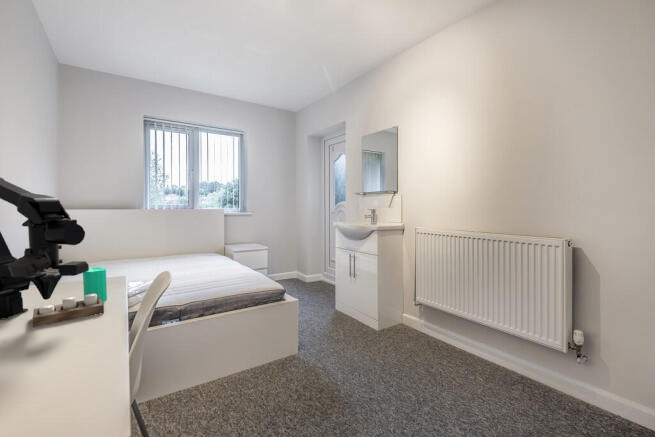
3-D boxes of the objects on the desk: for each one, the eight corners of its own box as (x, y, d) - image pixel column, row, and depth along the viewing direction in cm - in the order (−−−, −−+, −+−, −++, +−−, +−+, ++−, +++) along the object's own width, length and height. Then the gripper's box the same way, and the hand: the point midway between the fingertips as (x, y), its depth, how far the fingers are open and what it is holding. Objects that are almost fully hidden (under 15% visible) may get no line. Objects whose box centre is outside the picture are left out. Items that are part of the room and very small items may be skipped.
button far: (84, 308, 87) (84, 297, 87) (84, 305, 90) (83, 294, 89) (97, 306, 89) (97, 295, 89) (96, 303, 92) (96, 292, 91)
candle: (94, 305, 94) (93, 267, 94) (79, 303, 96) (77, 266, 95) (111, 298, 100) (110, 263, 99) (96, 297, 102) (95, 262, 101)
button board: (33, 327, 78) (32, 317, 78) (34, 317, 84) (33, 308, 84) (104, 313, 89) (103, 304, 88) (100, 305, 94) (100, 297, 94)
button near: (39, 321, 81) (39, 310, 81) (39, 318, 83) (39, 306, 83) (54, 318, 83) (54, 307, 83) (54, 315, 85) (54, 304, 85)
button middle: (63, 312, 84) (62, 301, 84) (62, 309, 86) (62, 298, 86) (76, 309, 86) (76, 299, 86) (76, 306, 88) (75, 296, 88)
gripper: (-27, 248, 72) (-22, 311, 74) (59, 248, 75) (62, 309, 76) (15, 241, 83) (18, 296, 85) (88, 241, 86) (91, 294, 87)
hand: (46, 299), depth 83 cm, fingers closed
